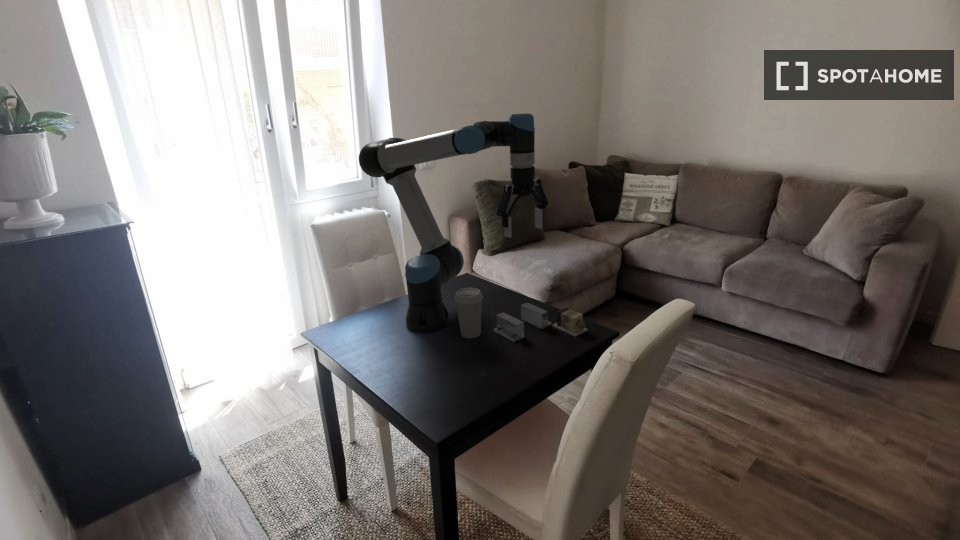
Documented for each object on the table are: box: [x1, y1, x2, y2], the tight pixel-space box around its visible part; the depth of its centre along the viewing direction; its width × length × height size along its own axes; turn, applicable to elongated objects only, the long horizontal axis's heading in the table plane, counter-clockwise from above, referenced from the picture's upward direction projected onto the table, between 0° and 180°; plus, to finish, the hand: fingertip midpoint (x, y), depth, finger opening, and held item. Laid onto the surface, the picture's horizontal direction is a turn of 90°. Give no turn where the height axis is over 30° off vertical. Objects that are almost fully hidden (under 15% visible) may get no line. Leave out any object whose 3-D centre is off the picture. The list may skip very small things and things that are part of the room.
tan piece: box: [556, 307, 586, 333], centre depth 161 cm, size 9×5×5 cm, turn 38°
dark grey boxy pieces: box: [493, 302, 552, 343], centre depth 164 cm, size 10×17×6 cm, turn 128°
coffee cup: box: [453, 287, 484, 339], centre depth 160 cm, size 10×10×15 cm
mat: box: [551, 322, 588, 338], centre depth 162 cm, size 10×6×1 cm, turn 38°
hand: (523, 232), depth 159 cm, fingers open, 13 cm apart
